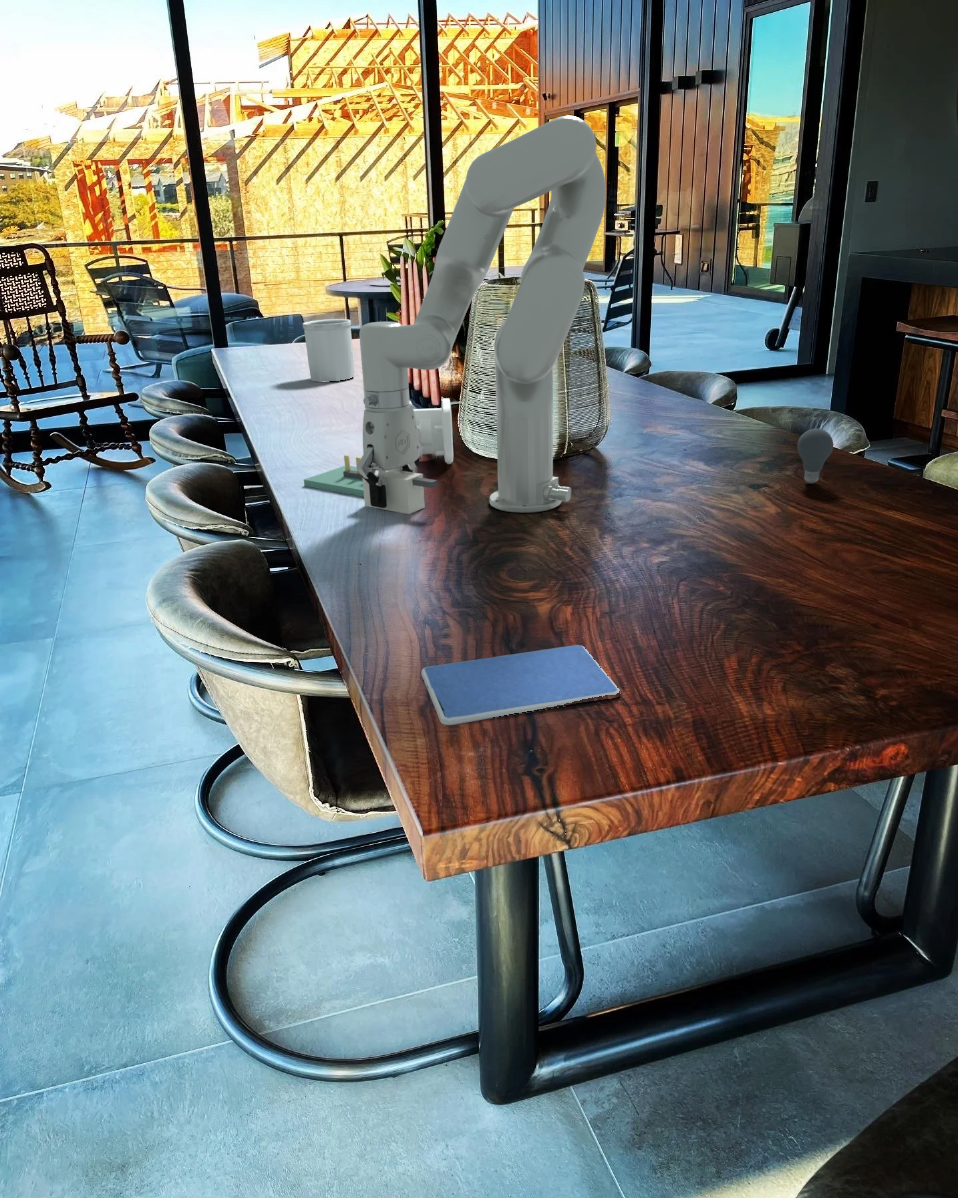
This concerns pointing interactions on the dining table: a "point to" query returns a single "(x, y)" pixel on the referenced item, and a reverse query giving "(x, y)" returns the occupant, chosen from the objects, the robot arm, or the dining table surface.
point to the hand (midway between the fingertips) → (393, 499)
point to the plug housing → (402, 491)
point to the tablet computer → (514, 683)
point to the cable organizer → (436, 430)
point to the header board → (339, 479)
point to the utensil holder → (329, 349)
